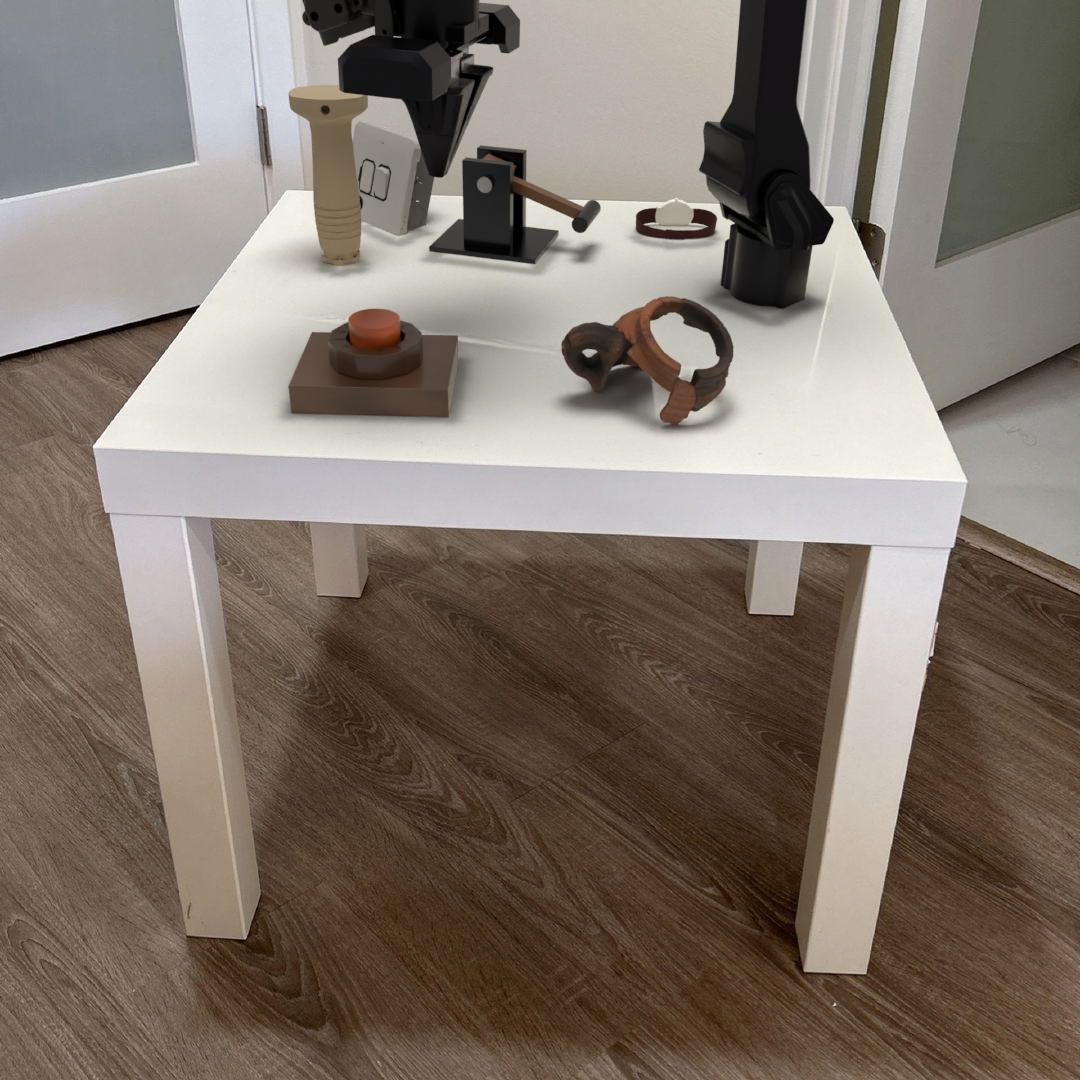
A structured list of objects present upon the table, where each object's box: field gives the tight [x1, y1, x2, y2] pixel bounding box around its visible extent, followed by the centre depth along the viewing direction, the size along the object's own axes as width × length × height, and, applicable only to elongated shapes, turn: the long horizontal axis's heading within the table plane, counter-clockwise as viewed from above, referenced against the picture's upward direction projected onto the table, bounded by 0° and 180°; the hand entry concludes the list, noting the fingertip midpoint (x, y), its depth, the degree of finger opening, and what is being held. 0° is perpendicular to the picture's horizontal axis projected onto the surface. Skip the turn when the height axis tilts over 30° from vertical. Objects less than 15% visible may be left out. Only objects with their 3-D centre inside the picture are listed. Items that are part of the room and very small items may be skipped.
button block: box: [288, 319, 460, 418], centre depth 85 cm, size 11×9×4 cm
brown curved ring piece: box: [561, 295, 734, 426], centre depth 84 cm, size 12×10×8 cm
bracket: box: [428, 144, 560, 265], centre depth 107 cm, size 10×8×9 cm
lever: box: [483, 154, 602, 234], centre depth 105 cm, size 11×5×2 cm, turn 73°
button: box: [347, 308, 401, 349], centre depth 84 cm, size 4×4×2 cm
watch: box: [635, 197, 718, 240], centre depth 112 cm, size 8×5×4 cm, turn 91°
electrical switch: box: [352, 120, 435, 237], centre depth 112 cm, size 9×5×9 cm, turn 43°
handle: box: [287, 84, 369, 267], centre depth 101 cm, size 5×6×15 cm
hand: (437, 175), depth 84 cm, fingers closed
